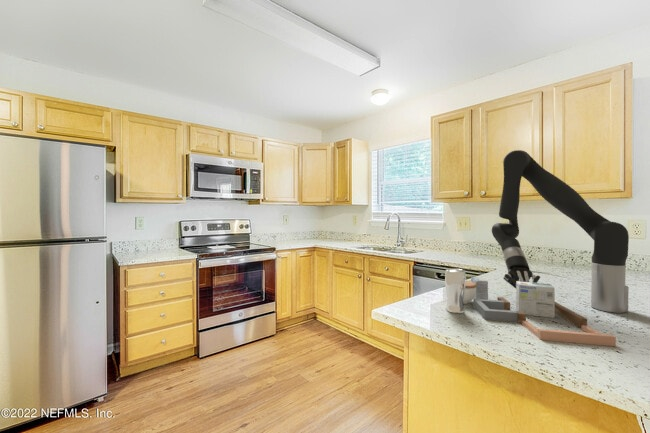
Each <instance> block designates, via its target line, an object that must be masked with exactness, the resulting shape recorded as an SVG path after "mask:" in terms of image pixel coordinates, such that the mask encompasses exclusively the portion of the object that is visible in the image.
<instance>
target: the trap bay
mask: <svg viewBox="0 0 650 433" xmlns="http://www.w3.org/2000/svg"><path fill="white" fill-rule="evenodd" d="M472 302H473V304H472V307H473V308H474V309H475V311H477V312H478V313H479V315H480V316H481V317H482V318H483V319H484V320H488V321H502V322H503V321H504V322H514V323H516V322H517V323H518V313H517V312H516V311H517V310H511V309H510V310H504V302H503V301H500V300H497V299H488V300H485V299H474V298H473V300H472Z"/></svg>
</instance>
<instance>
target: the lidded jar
mask: <svg viewBox="0 0 650 433" xmlns="http://www.w3.org/2000/svg"><path fill="white" fill-rule="evenodd" d="M475 293H476V283H474V282H471V280H470V281H469V280H466V287H465V293H464V298H463V305H465V304H470V303H471V302H473V299H474V297H475Z"/></svg>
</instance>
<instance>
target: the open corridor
mask: <svg viewBox="0 0 650 433" xmlns="http://www.w3.org/2000/svg"><path fill="white" fill-rule="evenodd" d="M496 298H497V299H496V300H500V301H503V302H504V310H510V311H511V302H510V301H509V300H507V299H506V298H504V297H503V296H497V297H496ZM515 311H516V312H517V313H518V322H517V323H519V324H522V321H527V315H526V314H525V313H523V312H522V311H517V310H515ZM555 314H556V315H558V316H559V317H561V318H562V319H563V320H566V321H568V323H570V324H572V325H574V326H576V327H577V328H579V329H582V325H585V326H588V318H586V317H584V316H582V315H581V314H579V313H577V312H576V311H573V310H572V309H569V308H568V307H565V306H564V305H562V304H560V303H558V302H556V301H555Z"/></svg>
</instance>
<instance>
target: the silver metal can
mask: <svg viewBox="0 0 650 433" xmlns="http://www.w3.org/2000/svg"><path fill="white" fill-rule="evenodd" d="M466 281H467V280H466V270H465V269H462V268H461V269H460V268H446V269H445V274H444V288H445V293H446V298H447V299H446V300H447V301H446V302H447V303H446V306H445V310H446V311H447V312H449V313H452V314H463V313H465V308H464V304H463V298H464V293H465V287H466Z"/></svg>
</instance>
